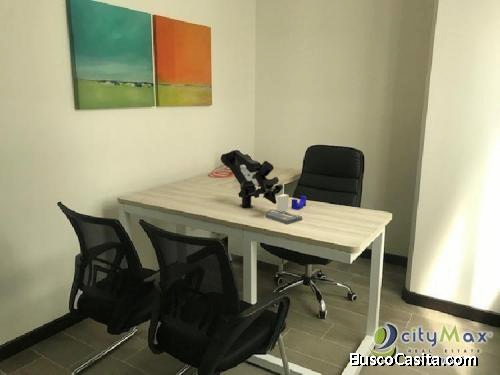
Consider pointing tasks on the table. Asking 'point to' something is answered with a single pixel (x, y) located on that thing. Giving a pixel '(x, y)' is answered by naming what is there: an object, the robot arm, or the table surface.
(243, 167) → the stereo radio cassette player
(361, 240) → the table surface
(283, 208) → the fader handle
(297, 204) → the cable clip
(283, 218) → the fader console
